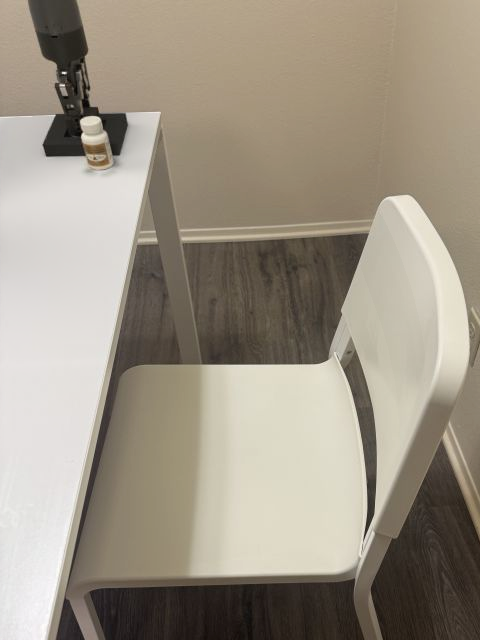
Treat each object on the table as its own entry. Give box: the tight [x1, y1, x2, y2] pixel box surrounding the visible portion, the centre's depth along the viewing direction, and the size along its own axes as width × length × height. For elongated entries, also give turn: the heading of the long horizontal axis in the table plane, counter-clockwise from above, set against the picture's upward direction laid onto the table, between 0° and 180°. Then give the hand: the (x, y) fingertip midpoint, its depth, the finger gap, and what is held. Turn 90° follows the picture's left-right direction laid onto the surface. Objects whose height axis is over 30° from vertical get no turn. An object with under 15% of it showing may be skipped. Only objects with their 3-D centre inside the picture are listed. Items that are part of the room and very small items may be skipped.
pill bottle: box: [80, 116, 115, 171], centre depth 104 cm, size 4×4×8 cm
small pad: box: [65, 106, 101, 137], centre depth 110 cm, size 5×5×3 cm
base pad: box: [41, 112, 129, 157], centre depth 112 cm, size 13×12×2 cm
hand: (84, 127), depth 111 cm, fingers closed on small pad, 5 cm apart
